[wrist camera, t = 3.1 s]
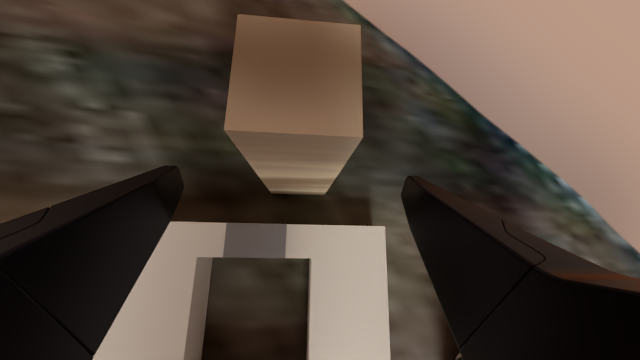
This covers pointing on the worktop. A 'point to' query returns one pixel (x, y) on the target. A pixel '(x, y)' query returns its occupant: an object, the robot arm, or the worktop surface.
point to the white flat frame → (257, 242)
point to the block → (295, 100)
